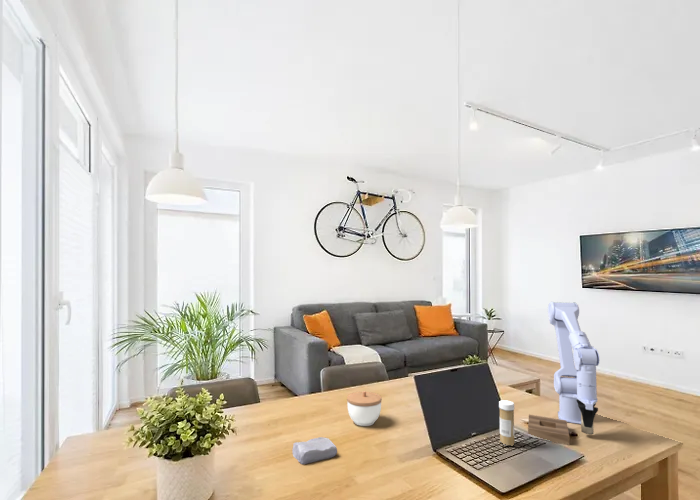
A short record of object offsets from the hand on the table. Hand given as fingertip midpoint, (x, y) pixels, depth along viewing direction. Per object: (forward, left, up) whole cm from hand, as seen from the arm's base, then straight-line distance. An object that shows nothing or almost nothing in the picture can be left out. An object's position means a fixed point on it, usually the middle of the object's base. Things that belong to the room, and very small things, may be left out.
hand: (587, 424), depth 128 cm
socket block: (+3, -12, -4) cm, 13 cm away
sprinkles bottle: (+19, -24, -4) cm, 31 cm away
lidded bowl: (+24, -72, -4) cm, 76 cm away
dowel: (0, 0, -3) cm, 2 cm away
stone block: (+53, -76, -5) cm, 93 cm away
